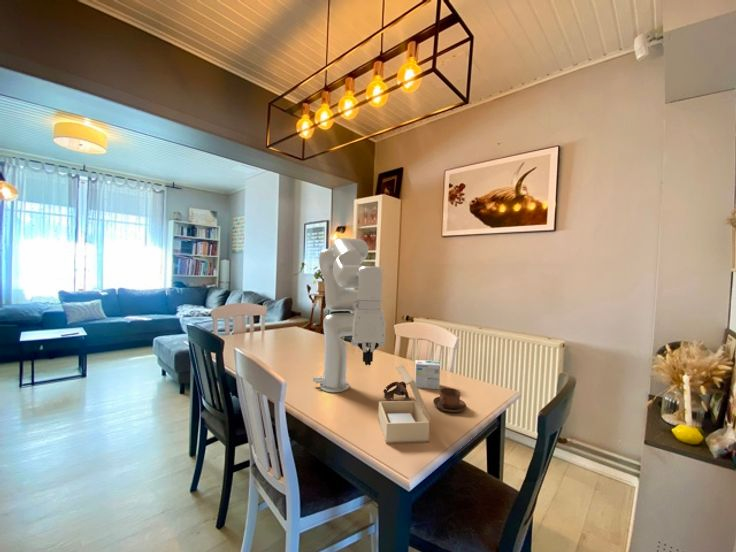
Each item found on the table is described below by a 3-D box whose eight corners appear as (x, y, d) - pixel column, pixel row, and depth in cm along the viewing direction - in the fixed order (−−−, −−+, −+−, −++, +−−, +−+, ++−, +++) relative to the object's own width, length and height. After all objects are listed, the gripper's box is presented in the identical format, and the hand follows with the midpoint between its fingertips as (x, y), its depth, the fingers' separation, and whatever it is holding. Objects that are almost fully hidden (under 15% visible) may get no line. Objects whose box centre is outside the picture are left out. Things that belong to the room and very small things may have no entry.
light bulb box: (437, 384, 140) (438, 360, 139) (439, 389, 133) (440, 365, 133) (414, 382, 141) (415, 359, 141) (414, 388, 134) (415, 363, 134)
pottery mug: (408, 409, 114) (397, 390, 114) (387, 414, 119) (377, 396, 118) (416, 390, 125) (406, 373, 124) (397, 395, 129) (387, 378, 129)
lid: (406, 383, 91) (414, 379, 91) (395, 367, 105) (402, 364, 106) (423, 423, 92) (431, 419, 92) (410, 402, 106) (417, 398, 107)
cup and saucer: (462, 418, 108) (463, 401, 108) (429, 410, 114) (429, 393, 114) (468, 405, 119) (469, 389, 119) (437, 398, 124) (438, 383, 124)
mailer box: (386, 443, 91) (386, 423, 90) (378, 418, 105) (378, 401, 105) (428, 442, 92) (429, 422, 92) (415, 417, 107) (415, 400, 107)
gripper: (346, 306, 91) (344, 367, 92) (395, 307, 93) (393, 367, 94) (344, 303, 99) (343, 360, 99) (390, 304, 101) (388, 360, 101)
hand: (367, 363), depth 96 cm, fingers closed
